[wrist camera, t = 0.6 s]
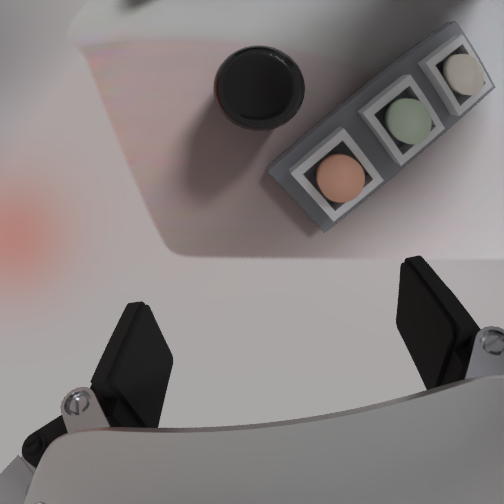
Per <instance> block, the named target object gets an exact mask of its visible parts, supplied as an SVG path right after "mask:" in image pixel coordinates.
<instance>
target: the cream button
mask: <svg viewBox="0 0 504 504" xmlns="http://www.w3.org/2000/svg"><path fill="white" fill-rule="evenodd" d="M443 76H444V79H445V81H446V83H447V85H448V86H449V88H450V89H451V90H452V91H454V92H456V93H458V94H464V95H476V94H478V93H479V92H480V91H481V89H482V87H483V83H484V75H483V71H482V68H481V66H480V64H479V63H478V62H477V60H476V59H475V58H474V57H472V56H470V55H468V54H454V55H450V56H448V57H447V58H446V60H445V61H444V64H443Z"/></svg>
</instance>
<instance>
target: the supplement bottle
mask: <svg viewBox="0 0 504 504" xmlns="http://www.w3.org/2000/svg"><path fill="white" fill-rule="evenodd" d="M304 93H305V84H304V79H303V75H302V73H301V70H300V69H299V67H298V65H297V64H296V63H295V61H294V60H293V59H292V58H291V57H289V56H288V55H287V54H285V53H284V52H282V51H280V50H278V49H275V48H272V47H268V46H250V47H246V48H242V49H240V50H238V51H236V52H234V53H233V54H231V55H230V56H229V57H227V58H226V59H225V60H224V62H223V63H222V64H221V66H220V67H219V69H218V71H217V73H216V76H215V80H214V96H215V100H216V103H217V105H218V107H219V109H220V110H221V112H222V113H223V114H224V116H225V117H226V118H227V119H229V120H230V121H231V122H232V123H234V124H236V125H237V126H240V127H242V128H245V129H249V130H254V131H264V130H270V129H274V128H277V127H279V126H281V125H283V124H285V123H286V122H288V121H289V120H290V119H291V118H292V117H293V116H294V115H295V114H296V113H297V111H298V110H299V108H300V106H301V104H302V102H303V98H304Z"/></svg>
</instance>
